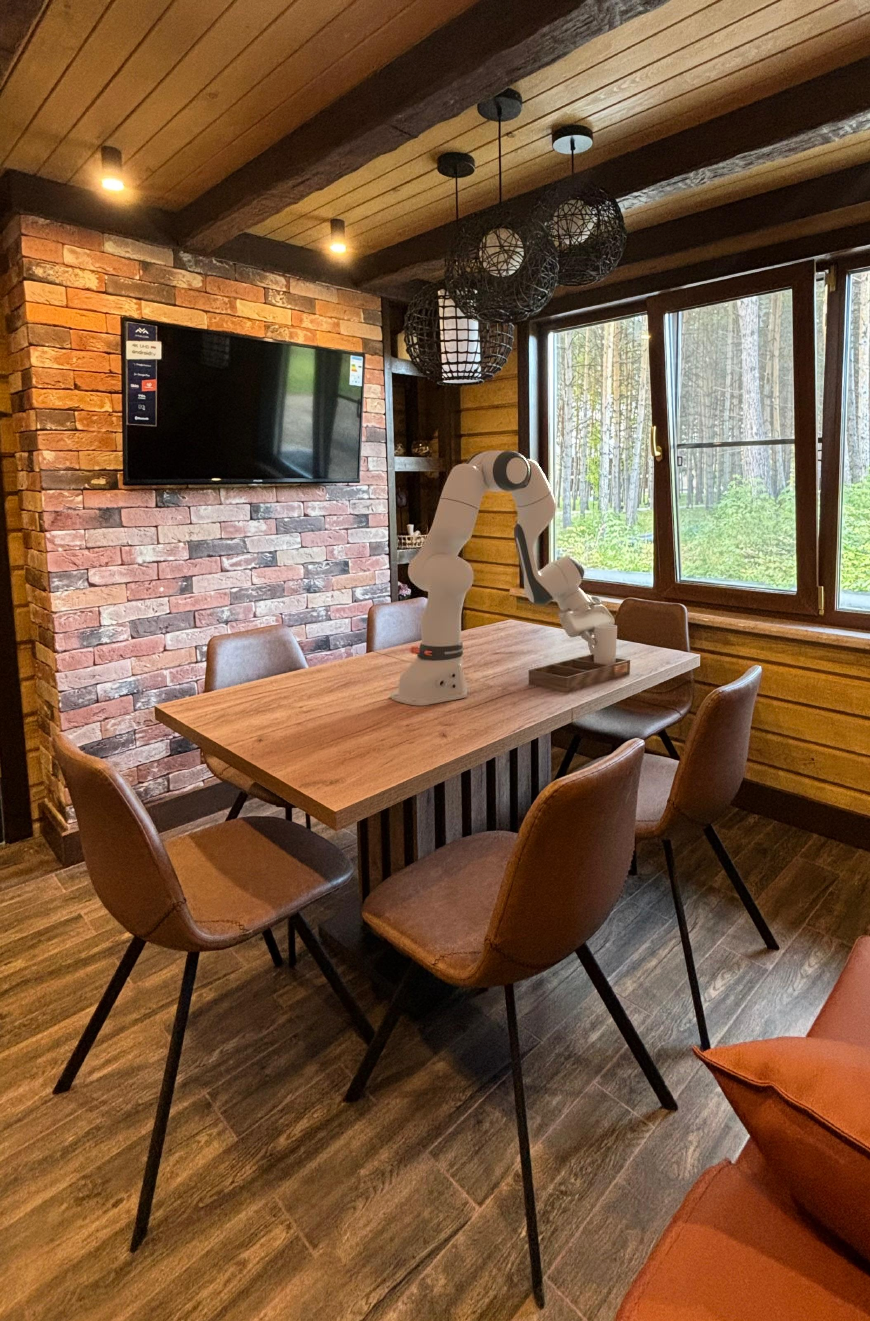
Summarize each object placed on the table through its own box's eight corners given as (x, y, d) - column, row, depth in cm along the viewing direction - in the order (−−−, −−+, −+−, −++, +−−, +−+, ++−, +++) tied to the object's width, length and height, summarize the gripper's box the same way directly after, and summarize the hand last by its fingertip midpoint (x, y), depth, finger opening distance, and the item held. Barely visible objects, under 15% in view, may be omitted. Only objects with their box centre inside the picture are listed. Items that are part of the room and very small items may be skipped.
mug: (620, 665, 226) (621, 626, 223) (606, 668, 222) (607, 628, 219) (594, 659, 233) (595, 621, 231) (580, 663, 229) (581, 624, 227)
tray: (568, 693, 206) (568, 678, 206) (528, 684, 217) (528, 670, 216) (631, 673, 226) (631, 660, 225) (592, 666, 237) (592, 653, 236)
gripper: (561, 604, 222) (587, 641, 217) (602, 597, 235) (628, 631, 230) (549, 617, 226) (574, 653, 221) (591, 609, 239) (615, 643, 234)
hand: (602, 642), depth 225 cm, fingers closed on mug, 6 cm apart
